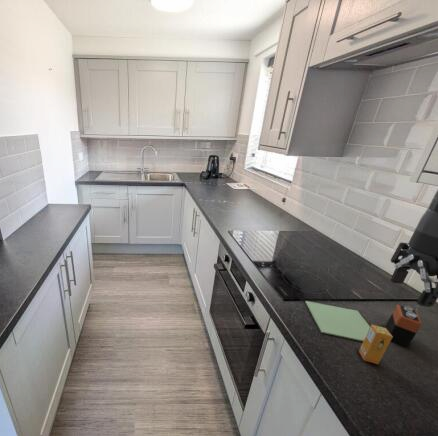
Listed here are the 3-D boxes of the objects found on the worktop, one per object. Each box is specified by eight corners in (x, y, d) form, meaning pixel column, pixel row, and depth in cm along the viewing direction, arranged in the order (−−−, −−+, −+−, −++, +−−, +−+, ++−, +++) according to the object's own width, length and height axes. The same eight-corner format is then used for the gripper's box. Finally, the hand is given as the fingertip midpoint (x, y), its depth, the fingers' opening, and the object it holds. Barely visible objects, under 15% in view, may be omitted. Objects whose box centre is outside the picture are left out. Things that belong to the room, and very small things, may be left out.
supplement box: (372, 354, 64) (387, 327, 60) (378, 365, 61) (394, 337, 57) (357, 350, 65) (371, 323, 62) (362, 360, 62) (377, 333, 59)
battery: (387, 339, 69) (402, 313, 65) (384, 325, 74) (398, 301, 70) (407, 347, 67) (424, 321, 63) (403, 333, 71) (418, 308, 68)
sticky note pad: (356, 311, 79) (357, 310, 79) (383, 346, 67) (384, 344, 67) (305, 301, 83) (305, 300, 83) (321, 332, 71) (321, 331, 70)
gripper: (502, 250, 42) (456, 318, 48) (435, 222, 55) (405, 278, 61) (450, 245, 44) (412, 310, 50) (397, 218, 57) (371, 273, 63)
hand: (408, 293), depth 55 cm, fingers open, 8 cm apart
